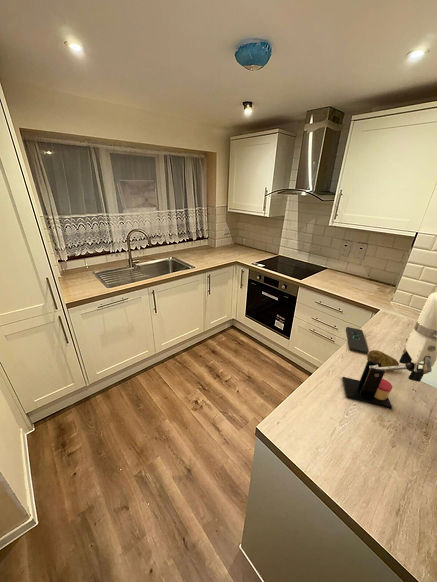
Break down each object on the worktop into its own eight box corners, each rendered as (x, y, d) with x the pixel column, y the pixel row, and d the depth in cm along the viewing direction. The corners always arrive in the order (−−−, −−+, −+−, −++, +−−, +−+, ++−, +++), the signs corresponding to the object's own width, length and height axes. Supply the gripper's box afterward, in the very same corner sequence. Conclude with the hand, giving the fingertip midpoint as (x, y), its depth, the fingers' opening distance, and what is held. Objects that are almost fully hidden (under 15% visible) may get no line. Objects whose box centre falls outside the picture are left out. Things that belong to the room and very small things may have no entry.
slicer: (382, 388, 94) (395, 361, 88) (391, 409, 85) (405, 381, 79) (341, 378, 98) (351, 352, 92) (345, 397, 89) (356, 370, 83)
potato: (399, 379, 98) (406, 364, 95) (364, 369, 103) (370, 354, 100) (395, 366, 105) (401, 352, 102) (363, 357, 110) (368, 343, 106)
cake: (384, 390, 91) (389, 379, 89) (389, 402, 86) (394, 391, 84) (368, 386, 93) (372, 376, 90) (371, 397, 88) (376, 387, 85)
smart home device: (362, 329, 128) (369, 351, 111) (361, 332, 129) (368, 354, 112) (346, 326, 131) (349, 347, 114) (345, 328, 131) (348, 350, 114)
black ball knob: (415, 366, 83) (414, 359, 82) (419, 373, 80) (418, 365, 79) (369, 370, 88) (368, 363, 88) (372, 376, 86) (370, 369, 85)
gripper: (459, 349, 66) (433, 393, 74) (430, 318, 81) (411, 357, 89) (428, 343, 68) (405, 387, 76) (405, 314, 83) (388, 353, 91)
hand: (408, 371), depth 82 cm, fingers open, 7 cm apart
